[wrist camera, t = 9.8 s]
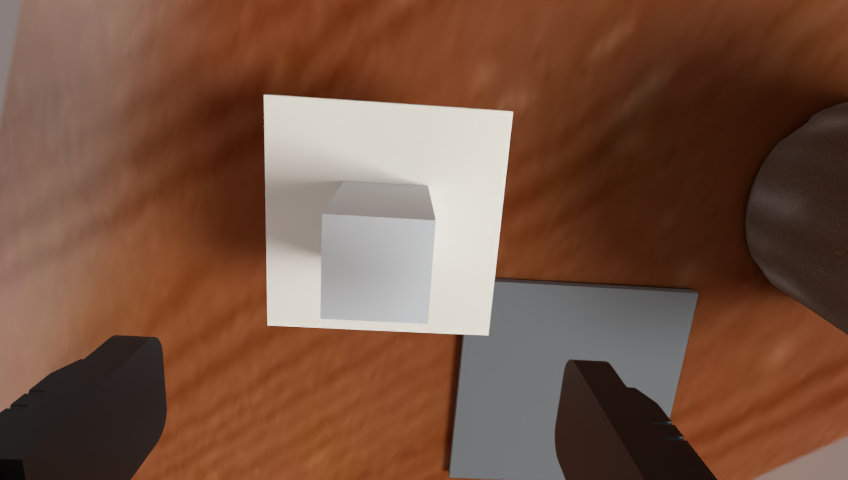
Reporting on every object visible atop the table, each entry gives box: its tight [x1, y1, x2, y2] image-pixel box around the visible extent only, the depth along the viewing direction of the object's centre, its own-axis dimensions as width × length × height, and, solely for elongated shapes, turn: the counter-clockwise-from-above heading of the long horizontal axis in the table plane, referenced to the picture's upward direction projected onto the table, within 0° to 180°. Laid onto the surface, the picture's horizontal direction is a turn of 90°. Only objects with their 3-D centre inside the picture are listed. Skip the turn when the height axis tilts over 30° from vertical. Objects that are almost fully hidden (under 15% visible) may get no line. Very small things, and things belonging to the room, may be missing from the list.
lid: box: [264, 94, 513, 336], centre depth 20 cm, size 10×10×7 cm
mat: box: [449, 278, 699, 480], centre depth 34 cm, size 14×14×1 cm
